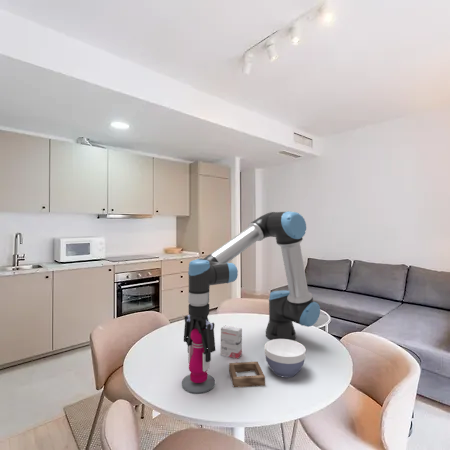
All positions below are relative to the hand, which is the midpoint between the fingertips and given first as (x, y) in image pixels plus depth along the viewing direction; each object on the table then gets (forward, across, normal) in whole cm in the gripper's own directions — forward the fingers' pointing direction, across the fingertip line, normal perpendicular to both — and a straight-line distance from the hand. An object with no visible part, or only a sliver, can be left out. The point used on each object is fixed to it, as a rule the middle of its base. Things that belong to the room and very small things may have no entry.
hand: (198, 365), depth 105 cm
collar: (+7, -10, -15) cm, 19 cm away
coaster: (+6, 0, 0) cm, 6 cm away
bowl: (+7, -18, -29) cm, 35 cm away
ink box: (+7, +6, -25) cm, 27 cm away
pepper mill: (+5, 0, 0) cm, 5 cm away
